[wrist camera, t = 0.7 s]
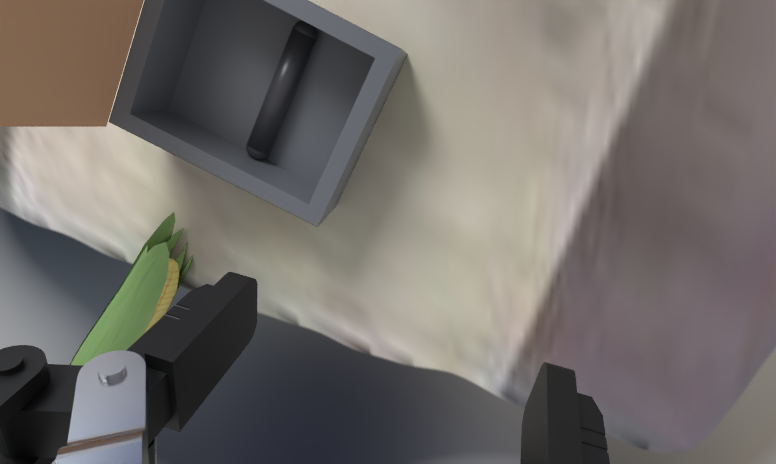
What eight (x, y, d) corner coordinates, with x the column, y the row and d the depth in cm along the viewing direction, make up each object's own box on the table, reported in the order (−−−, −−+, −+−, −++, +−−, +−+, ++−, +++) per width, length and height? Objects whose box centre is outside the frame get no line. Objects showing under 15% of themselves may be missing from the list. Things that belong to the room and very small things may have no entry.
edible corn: (44, 389, 44) (77, 425, 43) (145, 209, 39) (185, 247, 38) (95, 369, 49) (126, 401, 48) (191, 207, 43) (227, 240, 43)
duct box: (210, -49, 36) (166, -74, 30) (407, 54, 37) (400, 48, 31) (156, 116, 40) (108, 121, 34) (335, 206, 40) (317, 226, 35)
